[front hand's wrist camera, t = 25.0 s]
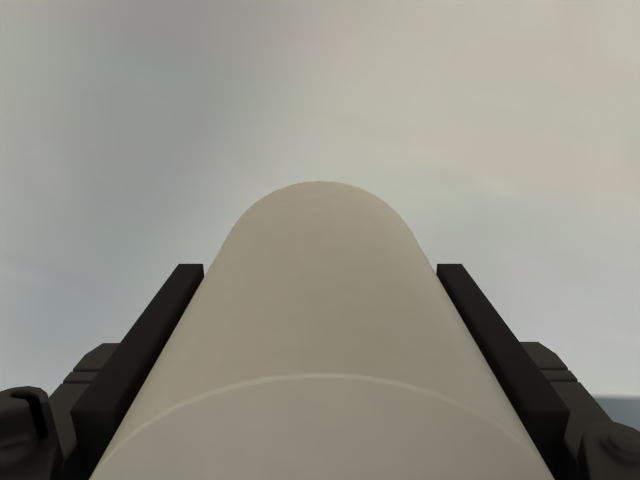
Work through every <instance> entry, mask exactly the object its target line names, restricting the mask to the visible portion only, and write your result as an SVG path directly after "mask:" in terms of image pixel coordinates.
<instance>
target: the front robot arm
mask: <svg viewBox="0 0 640 480" xmlns="http://www.w3.org/2000/svg"><path fill="white" fill-rule="evenodd" d="M436 275H437V277H438V279H439V280H440V282H441V284H442V285H443V287H444V289H445V291H446V292H447V294H448V296H449V298H450V299H451V301H452V303H453V304H454V306H455V308H456V310H457V311H458V313H459V315H460V317H461V318H462V320H463V322H464V324H465V325H466V327H467V329H468V330H469V332H470V334H471V336H472V337H473V339H474V341H475V343H476V344H477V346H478V348H479V350H480V351H481V353H482V355H483V356H484V358H485V360H486V362H487V363H488V365H489V367H490V369H491V370H492V372H493V374H494V375H495V377H496V379H497V381H498V382H499V384H500V386H501V388H502V389H503V391H504V393H505V395H506V396H507V398H508V400H509V401H510V403H511V405H512V407H513V408H514V410H515V412H516V414H517V415H518V417H519V419H520V420H521V422H522V424H523V426H524V427H525V429H526V431H527V433H528V434H529V436H530V438H531V440H532V441H533V443H534V445H535V446H536V448H537V450H538V452H539V453H540V455H541V457H542V459H543V460H544V462H545V464H546V465H547V467H548V469H549V471H550V472H551V474H552V476H553V478H554V479H555V480H640V432H639V431H637V430H636V429H634V428H631V427H628V426H625V425H623V424H620V423H616V422H613V421H612V420H611V419H610V418H609V416H608V415H607V414H606V413H605V412H604V410H603V409H602V408H601V407H600V406H599V404H598V403H597V402H596V401H595V400H594V398H593V397H592V396H591V395H590V394H589V393H588V391H587V390H586V389H585V388H584V387H583V385H582V384H581V383H580V382H578V381H577V378H576V377H575V376H574V375H573V373H572V372H571V371H568V368H567V366H566V365H565V364H564V363H563V362H562V360H561V359H560V358H559V357H558V356H557V354H555V353H554V352H552V351H551V350H549V349H548V348H546V347H545V346H543V345H542V344H540V343H539V342H519V341H518V340H517V338H516V337H515V336H514V334H513V333H512V331H511V330H510V329H509V327H508V326H507V325H506V323H505V322H504V321H503V319H502V318H501V317H500V315H499V314H498V313H497V311H496V310H495V309H494V307H493V306H492V304H491V303H490V302H489V300H488V299H487V298H486V296H485V295H484V294H483V292H482V291H481V290H480V288H479V287H478V286H477V284H476V283H475V282H474V280H473V279H472V278H471V276H470V275H469V273H468V272H467V271H466V269H465V268H464V267H463V265H462V264H437V273H436ZM203 278H204V270H203V264H178V266H177V267H176V268H175V270H174V271H173V273H172V274H171V275H170V277H169V278H168V279H167V281H166V282H165V283H164V285H163V286H162V287H161V289H160V290H159V291H158V293H157V294H156V295H155V297H154V298H153V300H152V301H151V302H150V304H149V305H148V306H147V308H146V309H145V310H144V312H143V313H142V314H141V316H140V317H139V318H138V320H137V321H136V322H135V324H134V325H133V326H132V328H131V329H130V331H129V332H128V333H127V335H126V336H125V337H124V339H123V340H122V341H121V343H102V344H101V345H99V346H98V347H96V348H95V349H93V350H92V351H90V352H89V353H87V354H86V355H84V357H83V358H82V359H81V360H80V361H79V363H78V364H77V365H76V366H75V367H74V369H73V372H70V373H69V375H68V376H67V377H66V378H65V379H64V381H63V384H60V385H59V387H58V388H57V389H56V390H55V391H54V393H53V394H52V395H51V396H50V397H49V399H48V395H47V393H46V392H45V391H43V390H42V389H41V388H37V387H31V386H25V387H15V388H11V389H7V390H4V391H1V392H0V480H89V479H90V477H91V475H92V473H93V472H94V470H95V468H96V466H97V465H98V463H99V461H100V459H101V458H102V456H103V454H104V452H105V451H106V449H107V447H108V445H109V444H110V442H111V440H112V438H113V437H114V435H115V433H116V431H117V430H118V428H119V426H120V424H121V422H122V421H123V419H124V417H125V415H126V414H127V412H128V410H129V408H130V407H131V405H132V403H133V401H134V400H135V398H136V396H137V394H138V393H139V391H140V389H141V387H142V386H143V384H144V382H145V380H146V379H147V377H148V375H149V373H150V372H151V370H152V368H153V366H154V365H155V363H156V361H157V359H158V358H159V356H160V354H161V352H162V350H163V349H164V347H165V345H166V343H167V342H168V340H169V338H170V336H171V335H172V333H173V331H174V329H175V328H176V326H177V324H178V322H179V321H180V319H181V317H182V315H183V314H184V312H185V310H186V308H187V307H188V305H189V303H190V301H191V300H192V298H193V296H194V294H195V293H196V291H197V289H198V287H199V285H200V284H201V282H202V280H203Z"/></svg>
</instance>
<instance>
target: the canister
mask: <svg viewBox="0 0 640 480" xmlns="http://www.w3.org/2000/svg"><path fill="white" fill-rule="evenodd" d="M89 480H555V479H554V478H553V476H552V474H551V472H550V471H549V469H548V467H547V465H546V464H545V462H544V460H543V459H542V457H541V455H540V453H539V452H538V450H537V448H536V446H535V445H534V443H533V441H532V440H531V438H530V436H529V434H528V433H527V431H526V429H525V427H524V426H523V424H522V422H521V420H520V419H519V417H518V415H517V414H516V412H515V410H514V408H513V407H512V405H511V403H510V401H509V400H508V398H507V396H506V395H505V393H504V391H503V389H502V388H501V386H500V384H499V382H498V381H497V379H496V377H495V375H494V374H493V372H492V370H491V369H490V367H489V365H488V363H487V362H486V360H485V358H484V356H483V355H482V353H481V351H480V350H479V348H478V346H477V344H476V343H475V341H474V339H473V337H472V336H471V334H470V332H469V330H468V329H467V327H466V325H465V324H464V322H463V320H462V318H461V317H460V315H459V313H458V311H457V310H456V308H455V306H454V304H453V303H452V301H451V299H450V298H449V296H448V294H447V292H446V291H445V289H444V287H443V285H442V284H441V282H440V280H439V279H438V277H437V275H436V273H435V272H434V270H433V268H432V266H431V265H430V263H429V261H428V259H427V258H426V256H425V254H424V253H423V251H422V249H421V247H420V246H419V244H418V242H417V240H416V239H415V237H414V235H413V234H412V232H411V230H410V229H409V227H408V226H407V224H406V223H405V221H404V220H403V219H402V218H401V217H400V215H399V214H398V213H397V212H396V211H395V210H394V209H393V208H392V207H390V206H389V205H388V204H387V203H386V202H384V201H383V200H381V199H380V198H378V197H377V196H375V195H373V194H371V193H369V192H367V191H365V190H363V189H360V188H357V187H354V186H351V185H348V184H342V183H337V182H326V181H315V182H304V183H299V184H294V185H290V186H287V187H284V188H282V189H279V190H276V191H274V192H272V193H270V194H268V195H266V196H265V197H263V198H262V199H260V200H259V201H257V202H256V203H254V204H253V205H252V206H251V207H250V208H249V209H248V210H247V211H246V212H244V214H243V215H242V216H241V217H240V218H239V220H238V221H237V222H236V223H235V225H234V226H233V228H232V230H231V231H230V233H229V235H228V236H227V238H226V240H225V242H224V243H223V245H222V247H221V249H220V250H219V252H218V254H217V256H216V257H215V259H214V261H213V263H212V264H211V266H210V268H209V270H208V271H207V273H206V275H205V277H204V278H203V280H202V282H201V284H200V285H199V287H198V289H197V291H196V293H195V294H194V296H193V298H192V300H191V301H190V303H189V305H188V307H187V308H186V310H185V312H184V314H183V315H182V317H181V319H180V321H179V322H178V324H177V326H176V328H175V329H174V331H173V333H172V335H171V336H170V338H169V340H168V342H167V343H166V345H165V347H164V349H163V350H162V352H161V354H160V356H159V358H158V359H157V361H156V363H155V365H154V366H153V368H152V370H151V372H150V373H149V375H148V377H147V379H146V380H145V382H144V384H143V386H142V387H141V389H140V391H139V393H138V394H137V396H136V398H135V400H134V401H133V403H132V405H131V407H130V408H129V410H128V412H127V414H126V415H125V417H124V419H123V421H122V422H121V424H120V426H119V428H118V430H117V431H116V433H115V435H114V437H113V438H112V440H111V442H110V444H109V445H108V447H107V449H106V451H105V452H104V454H103V456H102V458H101V459H100V461H99V463H98V465H97V466H96V468H95V470H94V472H93V473H92V475H91V477H90V479H89Z"/></svg>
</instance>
